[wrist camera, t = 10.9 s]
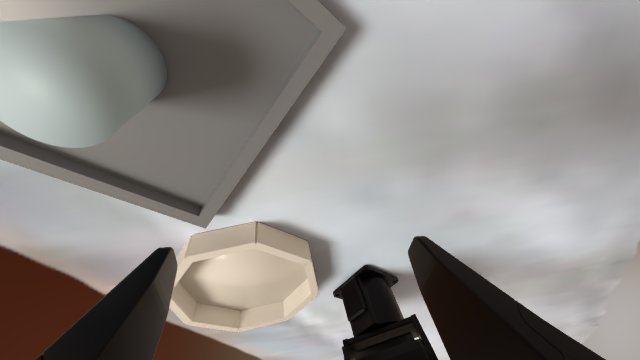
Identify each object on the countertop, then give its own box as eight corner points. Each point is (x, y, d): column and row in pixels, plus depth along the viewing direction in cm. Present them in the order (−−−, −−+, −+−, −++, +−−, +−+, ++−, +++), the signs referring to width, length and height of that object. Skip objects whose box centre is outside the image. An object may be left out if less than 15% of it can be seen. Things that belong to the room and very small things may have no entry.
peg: (180, 53, 14) (136, 79, 9) (151, 116, 16) (101, 165, 11) (84, -9, 12) (-35, -16, 7) (62, 71, 14) (-47, 108, 9)
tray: (339, 26, 15) (346, 28, 14) (209, 215, 22) (205, 228, 21) (-139, -442, 7) (-232, -542, 6) (-117, 96, 14) (-157, 106, 12)
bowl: (338, 252, 28) (343, 272, 26) (269, 316, 34) (269, 336, 32) (212, 204, 21) (207, 225, 19) (150, 294, 27) (141, 318, 25)
